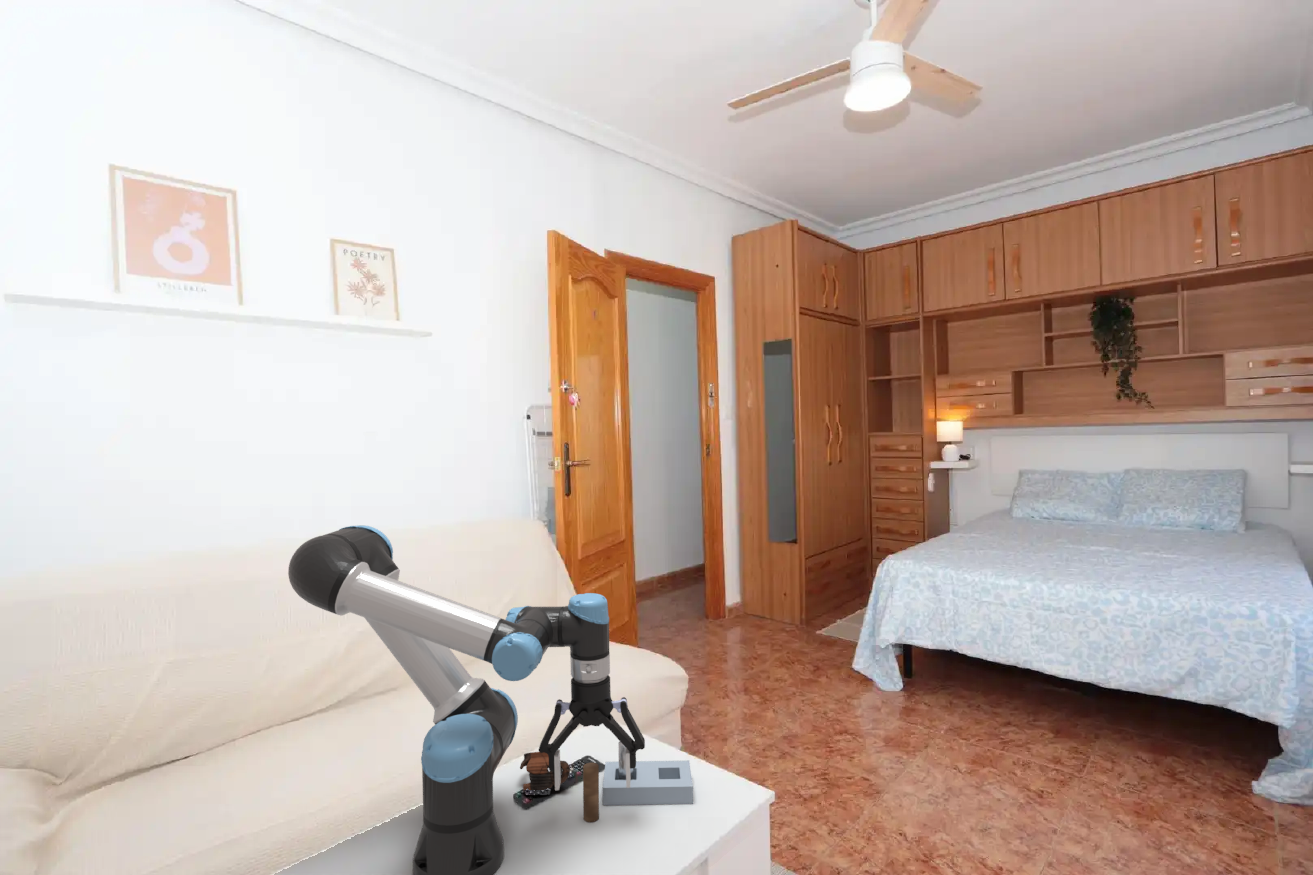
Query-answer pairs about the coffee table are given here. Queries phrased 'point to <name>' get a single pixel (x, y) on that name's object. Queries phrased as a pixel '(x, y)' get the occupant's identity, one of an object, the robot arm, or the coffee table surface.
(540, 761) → the pottery mug
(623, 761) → the grey steel peg
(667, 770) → the socket block
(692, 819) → the coffee table surface
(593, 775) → the walnut peg
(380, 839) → the coffee table surface
